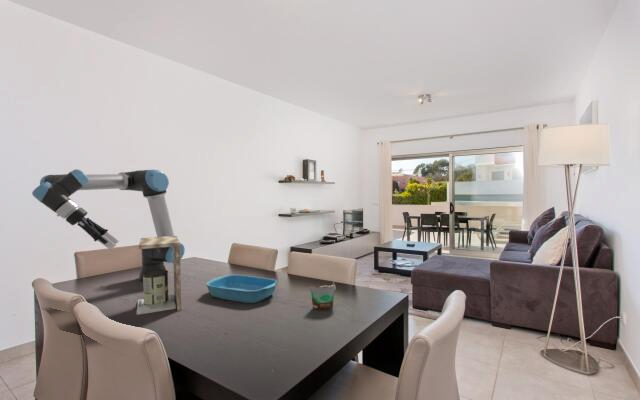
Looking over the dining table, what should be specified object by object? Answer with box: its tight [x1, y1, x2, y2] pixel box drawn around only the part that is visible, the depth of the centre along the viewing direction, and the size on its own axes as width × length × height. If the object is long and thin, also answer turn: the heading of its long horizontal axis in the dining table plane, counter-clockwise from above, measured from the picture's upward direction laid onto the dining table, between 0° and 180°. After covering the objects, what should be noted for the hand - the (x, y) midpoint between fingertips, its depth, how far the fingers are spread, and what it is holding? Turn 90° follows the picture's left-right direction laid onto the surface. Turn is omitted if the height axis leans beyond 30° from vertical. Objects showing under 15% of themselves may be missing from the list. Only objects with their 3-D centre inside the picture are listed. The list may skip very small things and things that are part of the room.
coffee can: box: [142, 269, 169, 307], centre depth 147 cm, size 10×10×14 cm
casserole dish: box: [205, 274, 278, 304], centre depth 161 cm, size 37×22×7 cm, turn 64°
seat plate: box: [136, 294, 177, 316], centre depth 147 cm, size 15×18×2 cm
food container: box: [309, 282, 337, 311], centre depth 142 cm, size 12×6×10 cm, turn 117°
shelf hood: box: [138, 235, 182, 312], centre depth 148 cm, size 16×24×30 cm, turn 27°
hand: (115, 245), depth 145 cm, fingers open, 13 cm apart
